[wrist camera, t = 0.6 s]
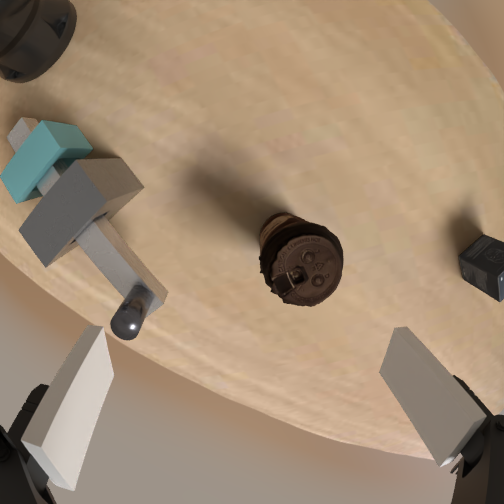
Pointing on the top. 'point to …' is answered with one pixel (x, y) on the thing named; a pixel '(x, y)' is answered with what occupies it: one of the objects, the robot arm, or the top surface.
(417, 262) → the top surface
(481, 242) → the box
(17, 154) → the spacer
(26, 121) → the shaft
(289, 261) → the coffee cup
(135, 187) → the bearing block
